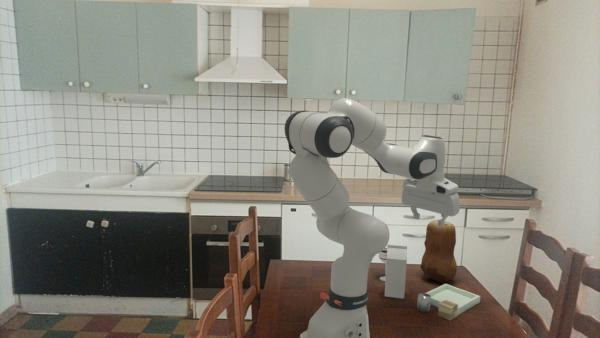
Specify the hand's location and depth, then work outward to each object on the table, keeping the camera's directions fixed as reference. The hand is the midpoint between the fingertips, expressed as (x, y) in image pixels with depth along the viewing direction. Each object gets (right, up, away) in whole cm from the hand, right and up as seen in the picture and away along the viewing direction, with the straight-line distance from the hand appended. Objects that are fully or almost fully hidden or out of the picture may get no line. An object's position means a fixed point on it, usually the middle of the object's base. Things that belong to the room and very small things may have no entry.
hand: (428, 222), depth 149 cm
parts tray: (+11, -30, +10) cm, 34 cm away
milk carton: (-8, -29, +16) cm, 34 cm away
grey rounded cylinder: (-1, -31, +4) cm, 31 cm away
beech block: (+6, -32, -1) cm, 33 cm away
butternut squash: (+12, -28, +30) cm, 43 cm away
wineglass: (-9, -27, +30) cm, 41 cm away
